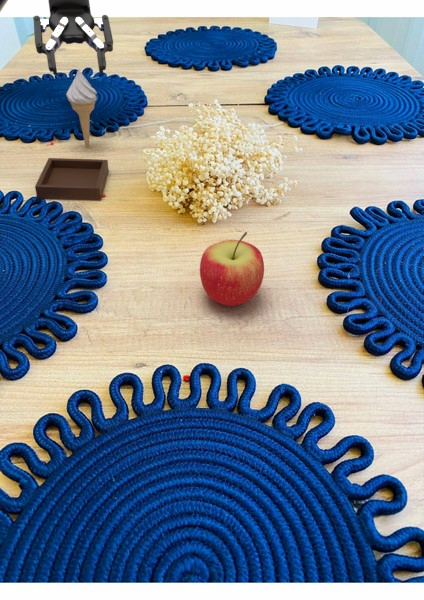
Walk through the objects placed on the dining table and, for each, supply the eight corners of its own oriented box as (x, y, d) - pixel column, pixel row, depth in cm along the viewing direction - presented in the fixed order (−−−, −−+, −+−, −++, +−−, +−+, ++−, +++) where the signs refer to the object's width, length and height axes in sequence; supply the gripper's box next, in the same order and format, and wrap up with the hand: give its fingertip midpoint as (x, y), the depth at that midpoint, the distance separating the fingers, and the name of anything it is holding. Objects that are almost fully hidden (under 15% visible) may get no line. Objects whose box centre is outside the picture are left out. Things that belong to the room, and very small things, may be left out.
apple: (273, 305, 71) (282, 243, 64) (218, 326, 67) (222, 262, 61) (239, 271, 76) (245, 211, 69) (187, 289, 73) (188, 227, 66)
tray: (37, 198, 89) (34, 186, 88) (50, 169, 97) (48, 157, 96) (100, 200, 90) (99, 188, 88) (108, 171, 98) (107, 159, 96)
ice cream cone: (71, 143, 106) (60, 64, 96) (99, 140, 107) (91, 62, 98) (76, 155, 102) (65, 74, 92) (105, 151, 104) (97, 72, 94)
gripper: (25, -24, 96) (36, 63, 95) (105, -24, 99) (117, 60, 98) (30, 2, 103) (41, 83, 102) (105, 1, 106) (116, 80, 105)
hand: (78, 72), depth 100 cm, fingers open, 8 cm apart
